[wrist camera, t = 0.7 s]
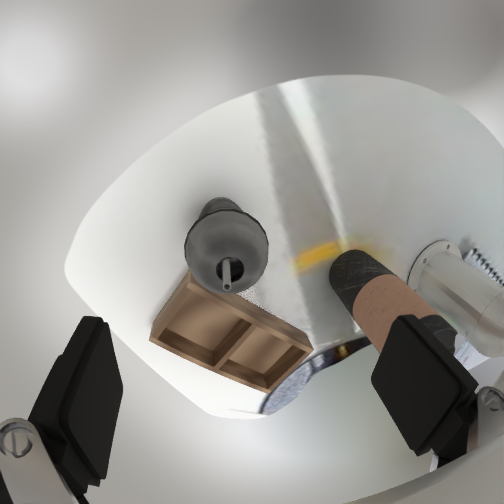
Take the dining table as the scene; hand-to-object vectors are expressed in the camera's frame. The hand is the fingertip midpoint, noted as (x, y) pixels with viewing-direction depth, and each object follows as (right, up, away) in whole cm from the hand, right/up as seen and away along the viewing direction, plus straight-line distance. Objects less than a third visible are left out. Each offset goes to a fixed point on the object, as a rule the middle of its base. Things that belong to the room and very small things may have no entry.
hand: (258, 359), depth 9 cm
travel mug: (+14, 0, +33) cm, 36 cm away
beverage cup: (-4, +8, +27) cm, 29 cm away
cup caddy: (-3, -8, +34) cm, 35 cm away
